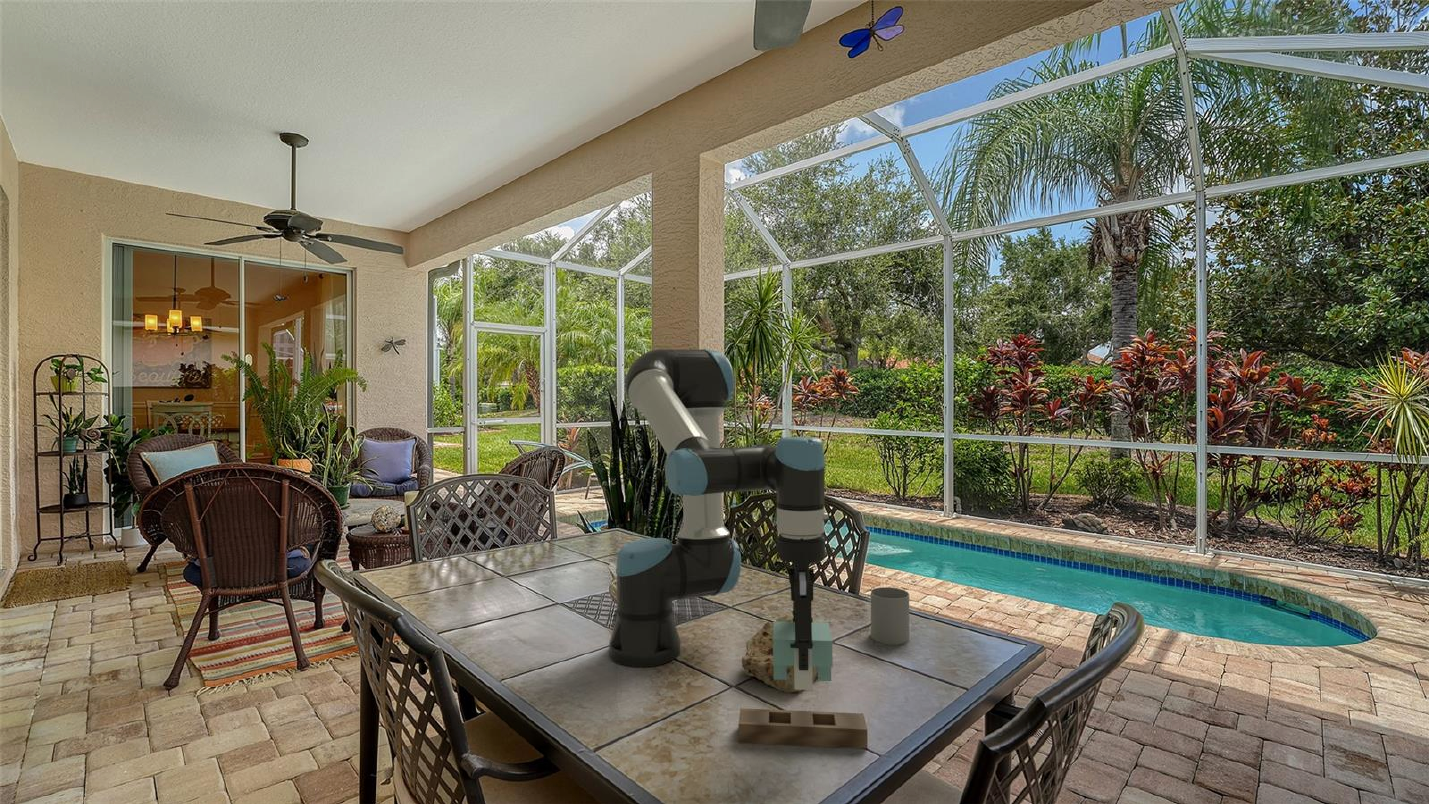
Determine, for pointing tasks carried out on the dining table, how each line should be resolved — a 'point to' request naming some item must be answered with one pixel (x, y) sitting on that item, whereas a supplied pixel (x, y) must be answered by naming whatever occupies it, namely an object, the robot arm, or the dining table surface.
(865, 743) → the rail
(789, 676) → the rock
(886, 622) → the cup
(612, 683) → the dining table surface
